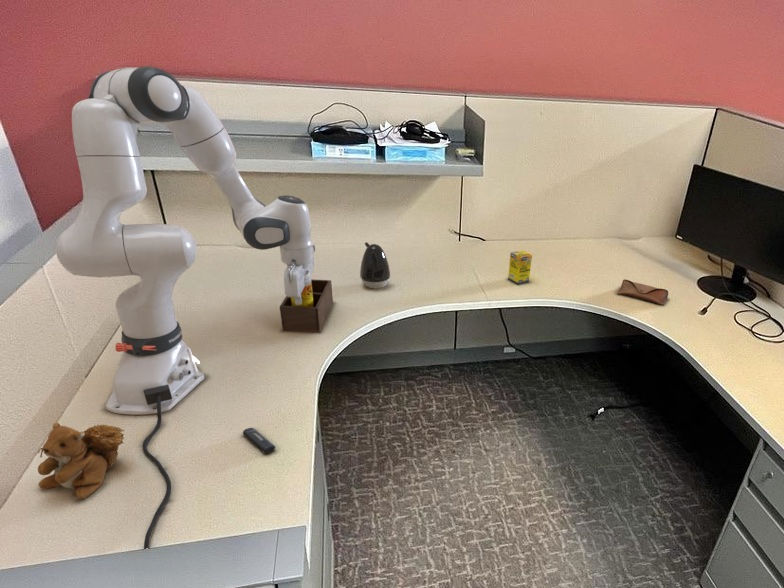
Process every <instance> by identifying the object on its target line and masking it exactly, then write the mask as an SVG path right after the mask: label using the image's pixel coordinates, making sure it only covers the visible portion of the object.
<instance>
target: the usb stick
mask: <svg viewBox="0 0 784 588" xmlns="http://www.w3.org/2000/svg"><path fill="white" fill-rule="evenodd" d="M242 435H243V436H245V438H247V439H248V440H249V441H250V442H251V443H252V444H253V445H254V446H255V447H256V448H258V449H259V450H260V451H262V452H263V453H264V454H270V453H272V452H273V451H274V450H275V449H276V446H275V444H274V443H272V442H271V441H269V440H268V439H267V438H266V437H265V436H263V434H261V433H260V432H259V431H257V430H256V429H255V428H254V427H248V428H245V429H244V430H243V431H242Z"/></svg>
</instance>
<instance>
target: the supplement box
mask: <svg viewBox="0 0 784 588" xmlns="http://www.w3.org/2000/svg"><path fill="white" fill-rule="evenodd" d="M532 259H533V254H531V253H529V252H527V251H526V250H523V249H521V250H517V251H512V252H510V257H509V264H508V266H509V267H508V273H507V280H508V281H510V282H512V283H514V284H515V285H521V284H524V283H529V282H530V277H531V267H532Z"/></svg>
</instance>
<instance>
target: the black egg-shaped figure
mask: <svg viewBox="0 0 784 588" xmlns="http://www.w3.org/2000/svg"><path fill="white" fill-rule="evenodd" d="M364 246H365V247H366V248H365V250H364V253H363V255H362V260H361V262H360V263H361V264H360V270H359V277H360V279H361V282H362V284H364V286H366V287H367V288H370V289H375V290H376V289H381V288H384V287H385V286H387V284H388V283H389V280H390V278H391V271H390V270H391V269H390V265H389V261H388V259H387V255H386V253H385V251H384V250H383V248H382V247H381V246H380V245H379V244H376V243H371V244H369V243H368V241H367V242H365V243H364Z"/></svg>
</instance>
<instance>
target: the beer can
mask: <svg viewBox="0 0 784 588" xmlns="http://www.w3.org/2000/svg"><path fill="white" fill-rule="evenodd" d="M311 279H312V274H311V275H310V273H309V271H308V270H307V272H306V273H305V275H304V283H305V287H304V289H303V291H302V293H301V297H302V301H303V302H302V304H301V305H296V304H295V299H294V298H291V303H292V306H298V307H314V304H313V294H312V283H311Z"/></svg>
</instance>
